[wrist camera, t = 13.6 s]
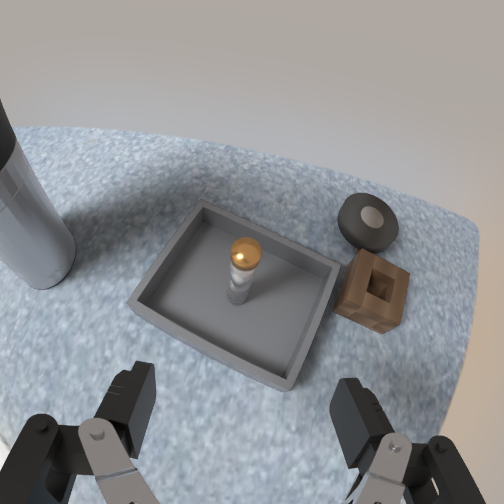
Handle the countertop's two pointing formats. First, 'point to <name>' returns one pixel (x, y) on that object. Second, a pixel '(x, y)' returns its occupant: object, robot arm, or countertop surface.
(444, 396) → the countertop surface
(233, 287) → the lock pin
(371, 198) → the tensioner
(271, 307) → the tray
